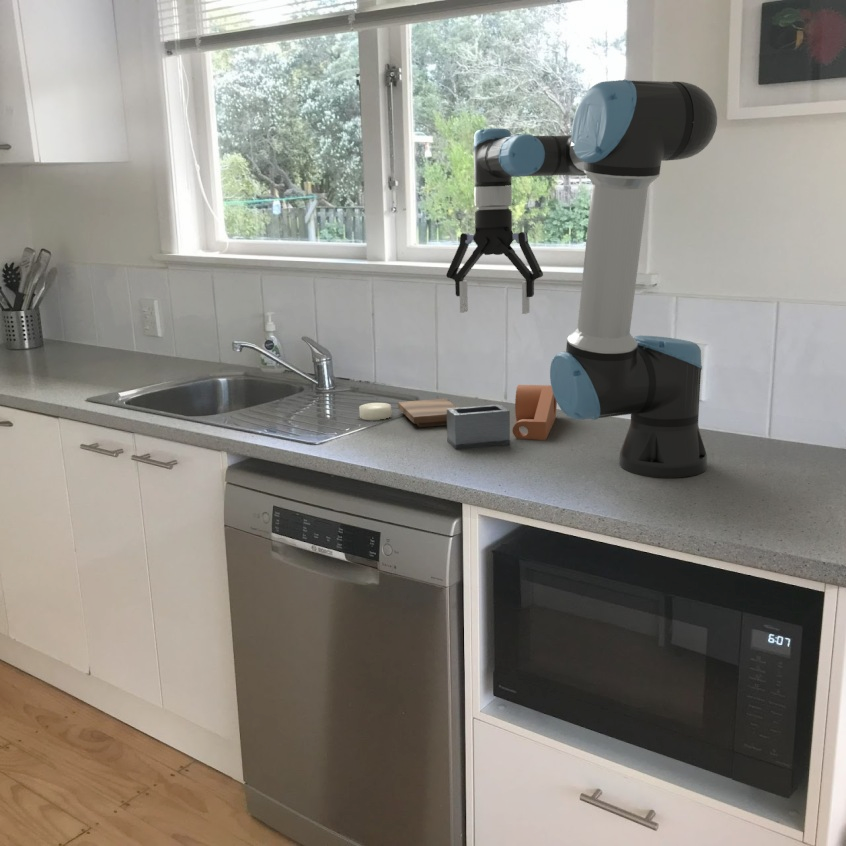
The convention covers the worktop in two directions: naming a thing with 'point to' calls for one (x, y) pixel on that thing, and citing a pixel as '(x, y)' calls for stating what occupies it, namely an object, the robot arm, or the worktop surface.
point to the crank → (534, 411)
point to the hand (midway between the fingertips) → (494, 312)
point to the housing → (478, 426)
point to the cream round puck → (375, 411)
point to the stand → (426, 411)
